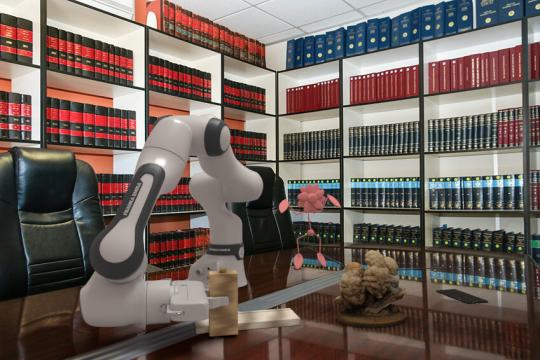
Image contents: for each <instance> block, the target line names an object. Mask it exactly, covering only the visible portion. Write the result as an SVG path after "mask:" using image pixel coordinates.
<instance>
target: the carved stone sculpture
mask: <svg viewBox="0 0 540 360" xmlns="http://www.w3.org/2000/svg"><path fill="white" fill-rule="evenodd" d="M364 261H365V263H366V268H364V266H363V265H362V264H360V263H359V262H356V261H350V262H349V263H346V266H345V268H344V269H345V270H344V273H343V274H341V277H340V284H339V292H340V294H341V295H337V297H335V298H334V299H335V300H334V302H335V303H336V304H337V305H341V306H343V309H341V310H340V311H339V313H337V314H336V315H335V318H336V321H337V322H338V323H339V324H341V325H343V326H345V327H350V328H360V329H362V328H363V329H364V328H367V329H372V328H389V327H394V326H397V325H401V324H403V323H404V322H405V321H406V315H405V314H404V313H403V312H402V311H401V310H400V309H398V308H397V307H396V306H395V304H392V303H394V302H397V301H399V300H400V301H401V300H402V299H403V298H404V296H405V295H406V294H407V291H406V287H405V286H400V276H399V274H398V273H399V270H400V269H399V268H400V267H399V265H398V263H397V260H396V259H394V258H392V257H390V256H384V255H383V254H381V252H379V251H377V250H373V249H370V250H368V251H367V252H366V253H365V254H364Z"/></svg>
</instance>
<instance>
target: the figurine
mask: <svg viewBox="0 0 540 360" xmlns="http://www.w3.org/2000/svg"><path fill="white" fill-rule="evenodd" d="M299 190H300V192H301V193H299V194H298V195H297V199H298V202H297V207H298V208H302V207H303V211H301V212H296V211H295V210H294V209H293V208H292V206H291V205H290V203H289V201H288V200H287V199H286V198H285V199H284V200H281V202H280V203H279V205H278V210H279V211H280V214H283V213H284V212H286V211H287V210H288V208H289V209H291V211H292V212H293V214H294V215H295V216H297V215H301V214H303V213H305V214H307V221H308V224H309V228H310V229H308V230H307V233H306V234H303V235H302V236H299V237H297V238H296V244H297V254H295V256H294V257H293V264H294V267H295V269H296V270H299V269H300V268H301V267H302V266H303V263H304V258H303V254H301V253H300V249H299V247H300V246H299V239H301V238H303V237H305V236H310V237H312V236H316V237H317V238H318V239H319V250H321V245H322V243H321V242H322V241H321V237H320V236H319V235H317V234H316V233H315V231H314V229H312V225H311V220H310V213H312V214H314V215H315V214H316V213H322V211H323V210H324V207H325V205H326V203H327V201H328V199H329V201H330V202H331V204H333V205H334V206H336V207H337V208H340V209H341V208H342V207H341V206H342V205H341V204H340V202H339V201H338V199H336V197H334V196H332V195H330V194H327V195H326V196H327V197H326V196H324V194H325V189H323V188H321V189H320V185H319V184H318V183H314V185H313V184H311V183H307V185H306V186H300V188H299ZM316 256H317V261H316V262H317V263H316V267H318V266H319V263H320V265H322V266H323V267H324V268H327V264H326V263H327V262H326V259H325V257H324V256H323V254H322V253H321V252H317V254H316ZM336 270H338V268H337V269H334V270H333V272H335V271H336ZM330 272H332V270H331V271H328V273H330ZM324 273H326V271H324V272H322V271H321V272H319V274H324Z"/></svg>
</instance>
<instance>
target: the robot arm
mask: <svg viewBox="0 0 540 360" xmlns="http://www.w3.org/2000/svg"><path fill="white" fill-rule="evenodd" d="M190 156H192V157H196V159H197V161H198V162H199V167H200V168H201V170H202V171H200V172H196V173H194V174H193V175H192V176H191V178H190V180H189V183H188V191H189V193H190V196H191V197H192V198H193V200H194V201H196V202H197V203H198V204H199V205H200V206H201V207H202V208H203V210H204V212H205V214H206V216H207V221H208V225H209V226H208V227H209V243H207V244H205V245H203V246H202V247H204V248H202V249H203V250H205V254H203V255H202V256H201V257H200V258H199V259H197V260H196V261H195V262H194V263H193V264H191V266H190V268H189V271H188V277H187V278H185V279H184V280H180V279H179V280H172V278H162V279H160V280H159V279H158V280H144V279H145V278H144V277H145V274H146V271H147V267H148V256H147V253H146V250H145V241H144V234H145V233H144V232H145V230H146V226H147V225H148V222H149V219H150V217H151V214H152V212H153V210H154V207H155V204H156V202H157V200H158V199H159V198H160V196H161V195H166V194H168V193H171V192H173V191H174V190H175V189H176V187H177V186H178V184H179V183H180V180H181V178H182V176H183V174H184V171H185V169H186V166H187V163H188V161H189V158H190ZM263 189H264V181H263V179H262V177H261V175H260V174H259V173H258V172H257V171H254V170H251V169H249V168H247V167H246V166H245V165H244V164H242V163H241V162H240V161H239V160H238V159H237V158H236V156H235V153H234V151H233V148H232V146H231V129H230V127H229V125H228V124H227V122H226V121H224V120H223V119H221V118H218V117H217V116H215V115H214V114H211V113H210V114H209V113H204V114H200V115H194V114H190V115H184V114H183V115H178V114H177V115H173V114H166V115H162V116H159V117H158V118H156V120H155V121H154V123H153V124H152V126H151V131H150V134H149V135H148V136H147V139H146V141H145V143H144V145H143V146H142V149H141V151H140V154H139V156H138V160H137V162H136V165H135V169H134V172H133V176H132V178H131V182H130V184H129V186H128V187H127V189H126V192H125V195H124V196H123V198H122V200H121V202H120V205H119V206H118V209H117V211H116V213H115V214H114V217H112V220H111V221H110V222H109V223H108V225H106V226H105V228H104V229H102V230H101V231H100V232H99V233H98V234H97V235H96V236H95V238H94V239H93V241H92V243H91V244H90V248H89V254H88V258H89V262H90V265H91V267H92V269H93V270H94V272H93V274H92V275H91V277H90V278H89V280H88V281H87V283H86V284H85V285H84V286H83V287H82V288H81V289H80V290H79V296H78V307H79V312H80V314H81V318H82V320H83V321H84V322H85V323H86V324H87V325H89V326H92V327H98V328H100V327H101V328H110V327H111V328H113V327H126V326H130V325H133V324H141V325H156V324H169V323H171V322H172V321H173V322H195V321H203V320H206V319H208V318H209V309H214V308H217V307H220V306H227V305H228V304H229V298H228V296H220V297H214V298H212V297H209V271H219V268H220V267H226V268H227V271H228V270H236V272H237V273H238V288H241V287H245V286H247V285H248V280H247V277H246V272H245V271H246V270H245V265H244V256H245V255H244V254H245V249H244V248H245V246H244V241H243V222H242V219H241V218H240V217H239V216H238V215H237V214H235V213H233V212H231V211H230V210H228V208H227V207H226V203H246V202H252V201H256V200H259V198H260V196H261V195H262V193H263Z"/></svg>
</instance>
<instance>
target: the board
mask: <svg viewBox="0 0 540 360" xmlns="http://www.w3.org/2000/svg"><path fill="white" fill-rule="evenodd" d="M300 325H301V318H300V316H299V315H297V314H296V313H295V311H294V310H292V309H291V308H290V307H288V308H285V307H284V308H274V309H273V308H272V309H263V310H261V309H260V310H248V311H238V331H243V330H255V329H256V330H257V329H267V328H269V329H270V328H281V327H292V326H300ZM194 326H195V333H196V334H197V335H198V334H199V335H200V334H206V333H208V334H209V318H208V319H206V320H203V321H194Z"/></svg>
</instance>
